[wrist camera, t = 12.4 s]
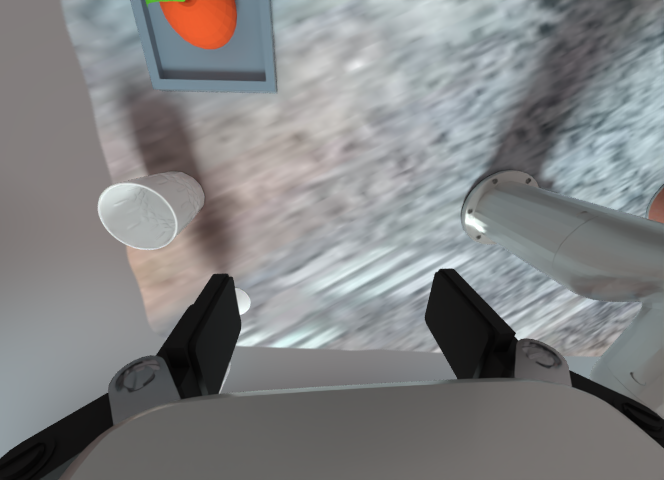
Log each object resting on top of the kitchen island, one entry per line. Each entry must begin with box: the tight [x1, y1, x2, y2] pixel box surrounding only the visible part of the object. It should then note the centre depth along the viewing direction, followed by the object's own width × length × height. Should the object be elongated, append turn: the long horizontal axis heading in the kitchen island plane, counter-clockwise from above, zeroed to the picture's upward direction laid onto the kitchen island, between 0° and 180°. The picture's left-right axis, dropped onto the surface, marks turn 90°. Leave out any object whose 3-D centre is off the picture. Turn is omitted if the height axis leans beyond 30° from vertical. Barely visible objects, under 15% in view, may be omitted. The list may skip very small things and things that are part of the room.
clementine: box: [145, 0, 237, 49], centre depth 24 cm, size 8×7×7 cm
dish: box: [130, 0, 277, 93], centre depth 27 cm, size 14×14×2 cm
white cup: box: [98, 171, 205, 250], centre depth 31 cm, size 8×8×10 cm
